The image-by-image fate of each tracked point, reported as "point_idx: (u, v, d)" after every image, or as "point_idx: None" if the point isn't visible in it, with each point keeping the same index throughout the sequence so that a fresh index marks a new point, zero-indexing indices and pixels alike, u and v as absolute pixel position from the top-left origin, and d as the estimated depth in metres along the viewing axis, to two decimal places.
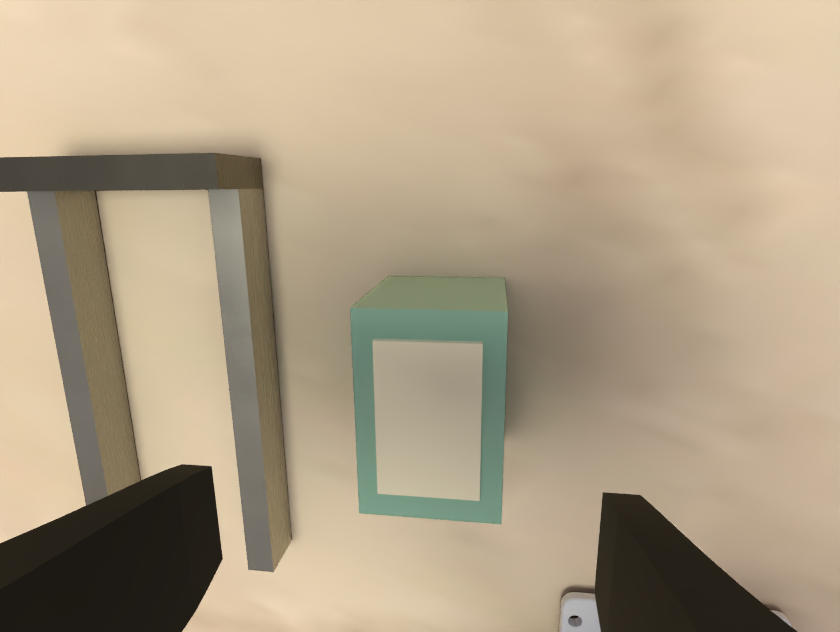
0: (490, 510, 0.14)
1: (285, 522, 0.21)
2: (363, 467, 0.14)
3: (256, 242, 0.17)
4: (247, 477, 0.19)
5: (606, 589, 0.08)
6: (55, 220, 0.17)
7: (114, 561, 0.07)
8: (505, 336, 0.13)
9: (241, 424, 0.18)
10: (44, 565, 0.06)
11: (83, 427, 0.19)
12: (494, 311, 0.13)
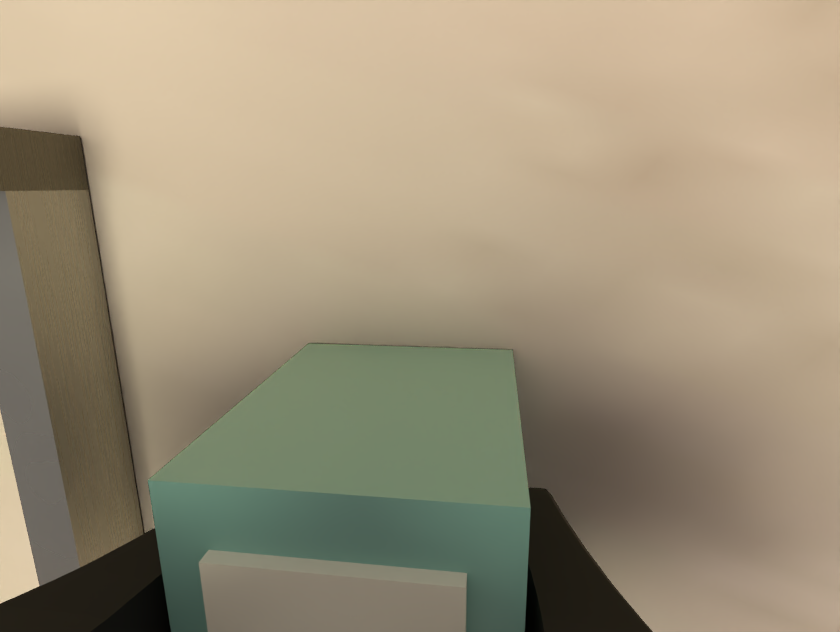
0: None
1: None
2: None
3: (69, 286, 0.10)
4: None
5: None
6: None
7: None
8: (523, 566, 0.05)
9: None
10: (159, 576, 0.06)
11: None
12: (495, 505, 0.05)
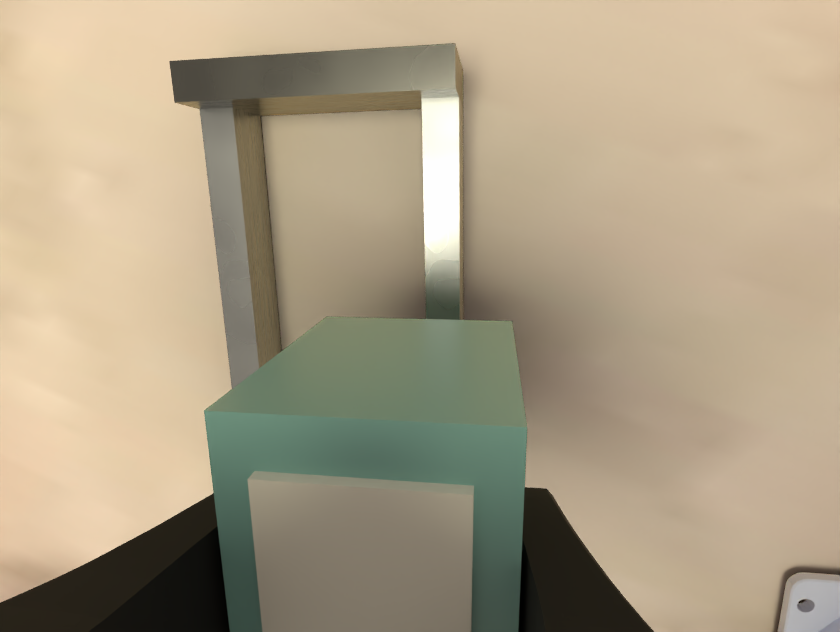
0: None
1: None
2: None
3: (461, 166, 0.15)
4: None
5: None
6: (231, 143, 0.15)
7: (213, 571, 0.07)
8: (521, 478, 0.06)
9: None
10: (157, 576, 0.06)
11: None
12: (498, 426, 0.06)
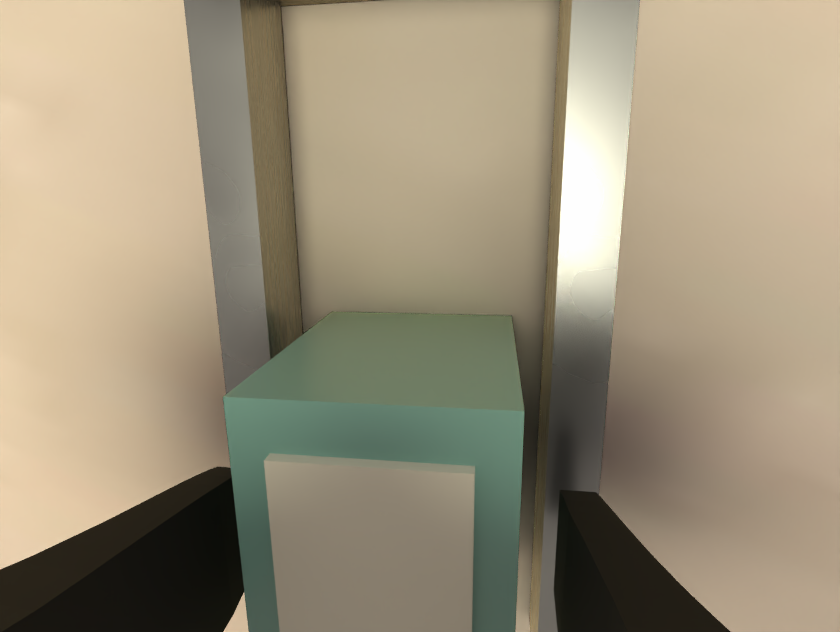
0: None
1: None
2: None
3: None
4: None
5: (560, 585, 0.08)
6: (234, 34, 0.09)
7: (160, 565, 0.07)
8: (519, 458, 0.07)
9: (566, 433, 0.10)
10: (96, 570, 0.06)
11: None
12: (497, 410, 0.07)
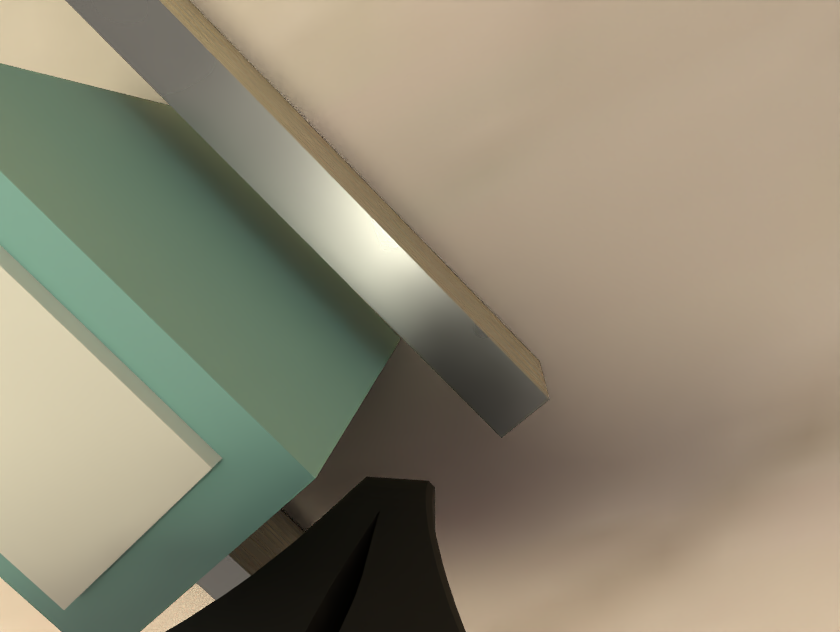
0: (268, 468, 0.05)
1: (497, 324, 0.09)
2: (18, 577, 0.06)
3: None
4: (340, 246, 0.08)
5: None
6: None
7: (358, 584, 0.07)
8: None
9: (240, 147, 0.08)
10: None
11: None
12: None
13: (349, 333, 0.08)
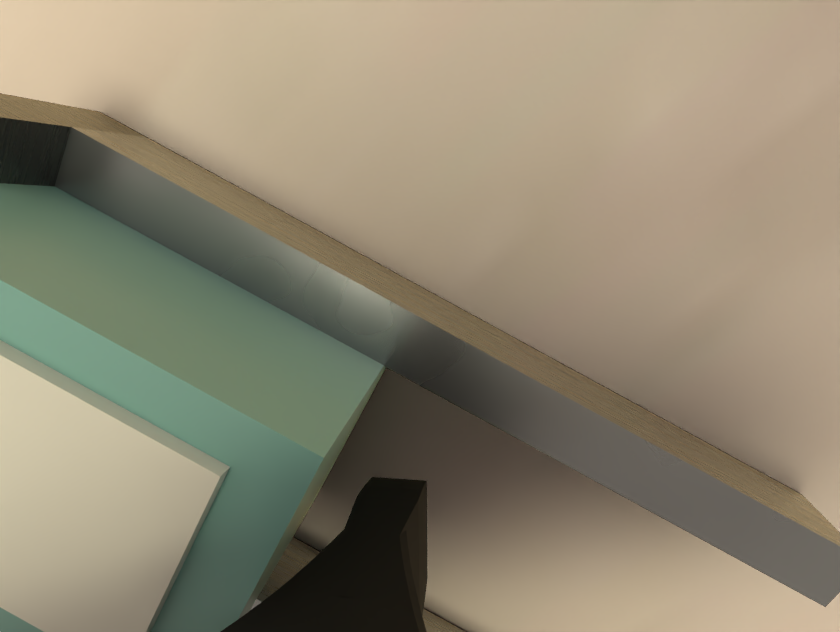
0: (275, 462, 0.05)
1: (759, 477, 0.09)
2: None
3: (204, 181, 0.09)
4: (620, 472, 0.08)
5: None
6: None
7: None
8: None
9: (504, 410, 0.08)
10: (365, 597, 0.06)
11: None
12: None
13: None
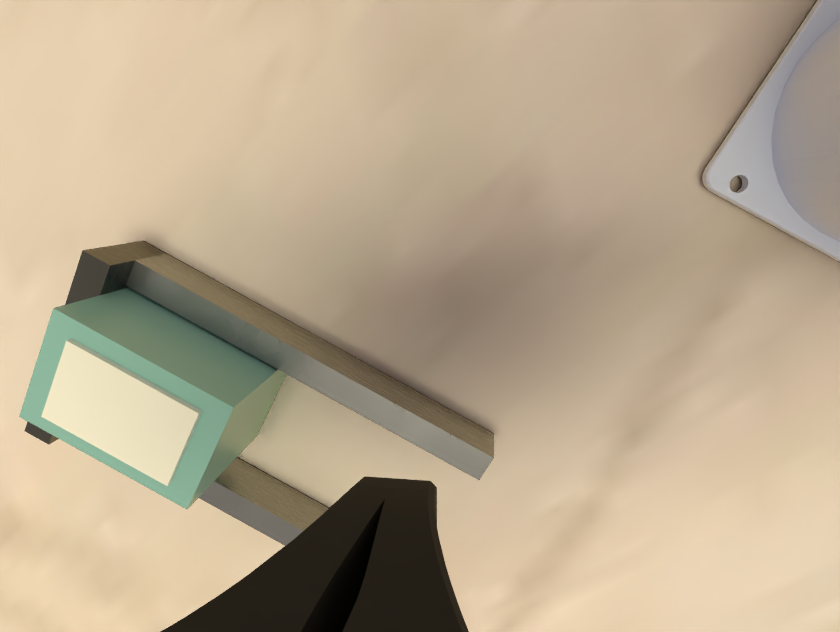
0: (217, 409, 0.15)
1: (466, 423, 0.19)
2: (148, 482, 0.16)
3: (195, 280, 0.19)
4: (384, 417, 0.18)
5: None
6: None
7: (355, 584, 0.07)
8: (71, 320, 0.15)
9: (331, 389, 0.18)
10: None
11: (274, 527, 0.20)
12: (51, 317, 0.15)
13: None
